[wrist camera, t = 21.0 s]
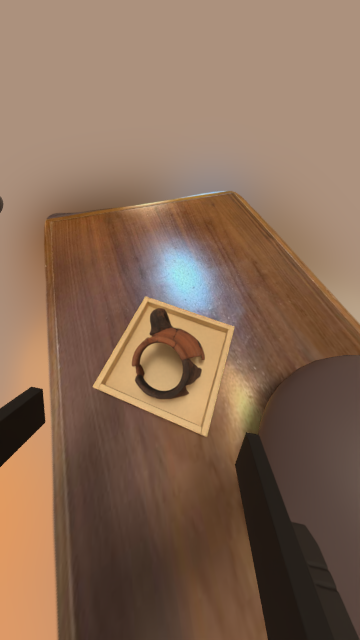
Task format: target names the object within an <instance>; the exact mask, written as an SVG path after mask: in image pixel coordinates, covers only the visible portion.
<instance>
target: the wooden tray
mask: <svg viewBox="0 0 360 640" xmlns="http://www.w3.org/2000/svg"><path fill="white" fill-rule="evenodd" d="M157 308H162V309H165V310H166V312H167V314H168V317H169V320H170V323H171V325H172V327H173V328H179V329H182V330H184V331H186V332H188V333H189V334H191V335H192V336H194V337H195V338H196V339H197V340H198V341H199V342H200V344H201V346H202V348H203V351H204V354H205V360H201V356H200V357H193V358H190V360H191V361H192V362H193V363H194V364H195V365H196V366H197V367H198V368H201V369H202V372H201V376H200V377H199V378H198V379H196V381H195V382H194V383H192V384H191V385H186V389H187V391H188V392H189V394H187V395H185V396H181V397H177V398H173V399H156V398H155V397H154V398H153V397H151V396H148V395H147V394H145V393H144V392H143V391H142V390H141V389H140V388H139V387H138V385H137V384H136V382H135V378H136V376H137V373H136V368H135V367H136V366H134V367H133V366H132V358H133V355H134V352H135V350H136V348H137V347H138V346H139V345H140V344H141V343H142V342H143V341H144V340H145V339H146V338H147V337H148V338H150V337H152V336H151V335H150V334H149V333H150V331H151V324H150V314H151V313H152V311H153V310H155V309H157ZM233 331H234V326H231V325H228V324H225V323H222V322H219V321H216V320H213V319H210V318H207V317H204V316H201V315H198V314H195V313H192V312H190V311H187V310H184V309H181V308H178V307H175V306H172V305H169V304H166V303H163V302H160V301H157V300H154V299H151V298H148V297H145V298H144V300H143V302H142V303H141V305H140V307H139V308H138V310H137V312H136V314H135V315H134V317H133V319H132V320H131V322H130V324H129V325H128V327H127V329H126V331H125V332H124V334H123V336H122V337H121V339H120V341H119V343H118V344H117V346H116V348H115V349H114V351H113V353H112V354H111V356H110V358H109V360H108V361H107V363H106V365H105V366H104V368H103V370H102V372H101V373H100V375H99V377H98V378H97V380H96V382H95V383H94V385H93V388H96V389H98V390H100V391H103V392H105V393H107V394H109V395H112V396H114V397H116V398H119V399H121V400H123V401H125V402H128V403H130V404H132V405H135V406H137V407H139V408H141V409H144V410H146V411H148V412H151V413H153V414H155V415H157V416H160V417H162V418H164V419H167V420H169V421H171V422H173V423H176V424H178V425H180V426H183V427H185V428H187V429H189V430H192V431H194V432H196V433H199V434H201V435H203V436H205V437H207V435H208V431H209V427H210V423H211V419H212V415H213V411H214V407H215V403H216V399H217V395H218V391H219V387H220V383H221V379H222V375H223V371H224V367H225V363H226V359H227V355H228V351H229V347H230V343H231V339H232V335H233ZM140 364H141V366H142V368H143V370H144V373H145V374H144V377H143V378H144V380H145V381H146V382H147V383H148V385H150V386H151V387H153V388H154V389H157V390H160V391H168V390H171V389H173V388H175V387H176V386H177V385H178V384H179V382H180V380H181V377H182V373H183V365H182V361H181V359H180V357H179V355H178V353H177V352H176V351H175V350H174V349H173V348H172V347H171V346H169V345H167V344H164V343H153V344H151V345H149V346H148V347H147V348H146V349H145V350H144V351H143V353H142V355H141V359H140Z"/></svg>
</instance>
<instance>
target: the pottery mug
mask: <svg viewBox="0 0 360 640" xmlns="http://www.w3.org/2000/svg"><path fill="white" fill-rule="evenodd" d="M150 324H151V331H150V333H149V334H150V335H151V336H152V337H150V338H148V337H147V338H146V339H145V340H144V341H143V342H142V343H141V344H140V345H139V346H138V347H137V348H136V350H135V352H134V355H133V358H132V366H133V367H134V366H136V367H135V368H136V373H137V376H136V378H135V382H136V384H137V385H138V387H139V388H140V389H141V390H142V391H143V392H144V393H145V394H147V395H148V396H151V397H153V398H154V397H155V398H156V399H173V398H177V397H181V396H185V395H187V394H189V392H188V391H187V389H186V385H191V384H192V383H194V382H195V381H196V379H198V378H199V377H200V376H201V372H202V369H201V368H198V367H197V366H196V365H195V364H194V363H193V362H192V361H191V360H190V358H193V357H200V356H201V360H205V354H204V351H203V348H202V346H201V344H200V342H199V341H198V340H197V339H196V338H195V337H194V336H192V335H191V334H189V333H188V332H186V331H184V330H182V329H179V328H173V327H172V325H171V323H170V320H169V317H168V314H167V312H166V310H165V309H162V308H157V309H155V310H153V311H152V313H151V314H150ZM153 343H164V344H167V345H169V346H171V347H172V348H173V349H174V350H175V351H176V352H177V353H178V355H179V357H180V359H181V361H182V365H183V373H182V377H181V380H180V382H179V384H178V385H177V386H176V387H175V388H173V389H171V390H168V391H160V390H157V389H154V388H153V387H151V386H150V385H148V383H147V382H146V381H145V380H144V378H143V377H144V374H145V373H144V370H143V368H142V366H141V364H140V359H141V355H142V353H143V351H144V350H145V349H146V348H147V347H148V346H149V345H151V344H153Z"/></svg>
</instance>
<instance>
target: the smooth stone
mask: <svg viewBox="0 0 360 640" xmlns="http://www.w3.org/2000/svg"><path fill="white" fill-rule="evenodd" d="M258 435H259V436H260V439H261V442H262V444H263V447H264V450H265V452H266V455H267V458H268V461H269V463H270V466H271V469H272V471H273V474H274V477H275V480H276V482H277V485H278V488H279V490H280V493H281V496H282V499H283V501H284V504H285V507H286V509H287V512H288V515H289V518H290V520H291V522H295V523H299V524H303V525H305V526H306V527H307V529H308V530H309V532H310V533H311V535H312V536H313V538H314V539H315V541H316V542H317V544H318V545H319V548H320V550H321V552H322V555H323V557H324V559H325V562H326V564H327V566H328V570H329V571H330V573H331V575H332V578H333V580H334V582H335V584H336V589H337V591H338V592H339V594H340V596H341V598H342V601H343V603H344V605H345V607H346V610H347V612H348V614H349V617H350V619H351V621H352V623H353V626H354V628H355V630H356V633H357V635H358V637H359V640H360V355H343V356H337V357H331V358H326V359H321V360H316V361H314V362H312V363H309V364H307V365H305V366H303V367H301V368H299V369H298V370H296V371H295V372H294V373H292V374H291V375H290V376H289V377H288V378H286V379H285V380H284V381H283V382H282V383H281V384H279V386H278V387H277V389H276V390H275V392H274V393H273V395H272V396H271V397H270V399H269V400H268V403H267V405H266V408H265V410H264V413H263V416H262V418H261V421H260V426H259V431H258Z"/></svg>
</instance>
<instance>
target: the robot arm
mask: <svg viewBox="0 0 360 640" xmlns="http://www.w3.org/2000/svg"><path fill="white" fill-rule="evenodd" d="M44 423H45V413H44V401H43V389H40V388H35V387H30V388H29V389H28V390H26V391H25V392H23V393H22V394H20V395H19V396H18V397H16V398H15V399H13V400H12V401H10V402H9V403H7V404H6V405H5V406H3V407H2V408H0V467H1V466H2V465H3V464H4V463H5V462H6V461H7V460H8V459H9V458H10V457H11V456H12V455H13V454H14V453H15V452H16V451H17V450H18V449H19V448H20V447H21V446H22V445H23V444H24V443H25V442H26V441H27V440H28V439H29V438H30V437H31V436H32V435H33V434H34V433H35V432H36V431H37V430H38V429H39V428H40V427H41V426H42V425H43V424H44ZM235 466H236V472H237V477H238V482H239V487H240V493H241V498H242V503H243V509H244V514H245V519H246V525H247V530H248V535H249V540H250V546H251V551H252V556H253V562H254V567H255V572H256V578H257V583H258V588H259V593H260V599H261V604H262V609H263V615H264V620H265V625H266V631H267V636H268V640H359V637H358V635H357V633H356V630H355V628H354V626H353V623H352V621H351V619H350V617H349V614H348V612H347V610H346V607H345V605H344V603H343V601H342V598H341V596H340V594H339V592H338V591H337V589H336V584H335V582H334V580H333V578H332V575H331V573H330V571H329V570H328V566H327V564H326V562H325V559H324V557H323V555H322V552H321V550H320V548H319V545H318V544H317V542H316V541H315V539H314V538H313V536H312V535H311V533H310V532H309V530H308V529H307V527H306V526H305V525H303V524H299V523H295V522H291V520H290V518H289V515H288V512H287V509H286V507H285V504H284V501H283V499H282V496H281V493H280V490H279V488H278V485H277V482H276V480H275V477H274V474H273V471H272V469H271V466H270V463H269V461H268V458H267V455H266V452H265V450H264V447H263V444H262V442H261V439H260V436H259V435H257V434H252V433H247V432H246V435H245V438H244V441H243V443H242V446H241V449H240V452H239V455H238V458H237V461H236V464H235Z"/></svg>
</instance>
